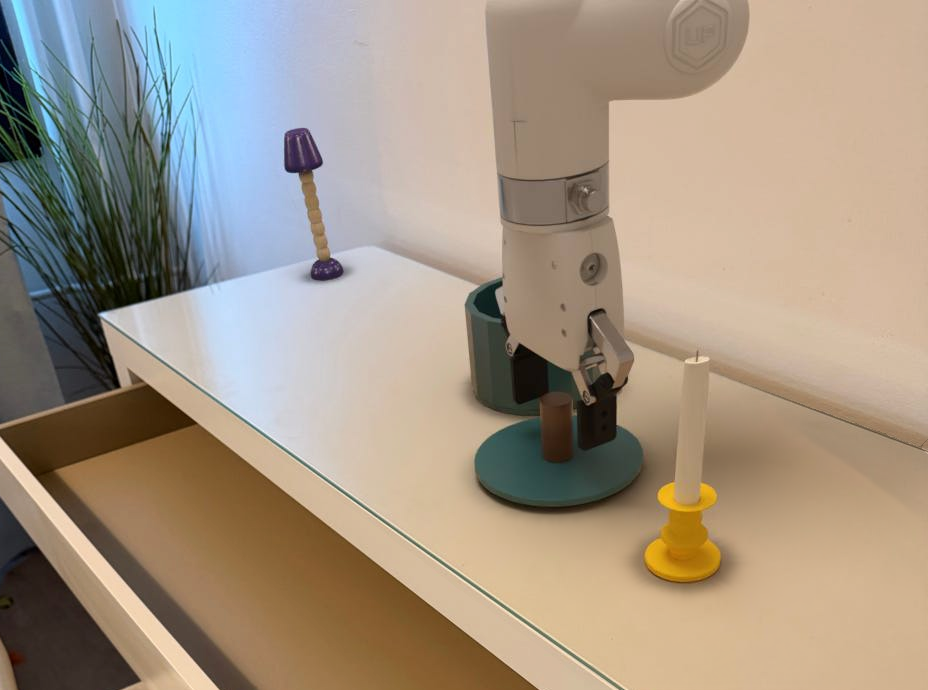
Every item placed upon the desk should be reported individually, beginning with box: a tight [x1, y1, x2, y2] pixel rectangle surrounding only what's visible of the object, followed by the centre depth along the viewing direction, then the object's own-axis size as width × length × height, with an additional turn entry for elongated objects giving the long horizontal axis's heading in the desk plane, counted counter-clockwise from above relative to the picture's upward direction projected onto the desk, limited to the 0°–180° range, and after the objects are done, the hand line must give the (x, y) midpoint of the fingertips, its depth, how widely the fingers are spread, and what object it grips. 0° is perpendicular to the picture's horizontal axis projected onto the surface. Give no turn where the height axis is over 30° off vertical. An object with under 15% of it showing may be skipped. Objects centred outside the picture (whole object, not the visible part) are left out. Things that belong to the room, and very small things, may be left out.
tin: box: [464, 276, 601, 416], centre depth 86 cm, size 13×13×8 cm
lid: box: [473, 392, 644, 508], centre depth 75 cm, size 14×14×6 cm
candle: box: [644, 349, 722, 583], centre depth 61 cm, size 5×5×16 cm
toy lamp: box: [283, 127, 344, 281], centre depth 114 cm, size 5×5×17 cm
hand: (562, 420), depth 75 cm, fingers open, 9 cm apart
